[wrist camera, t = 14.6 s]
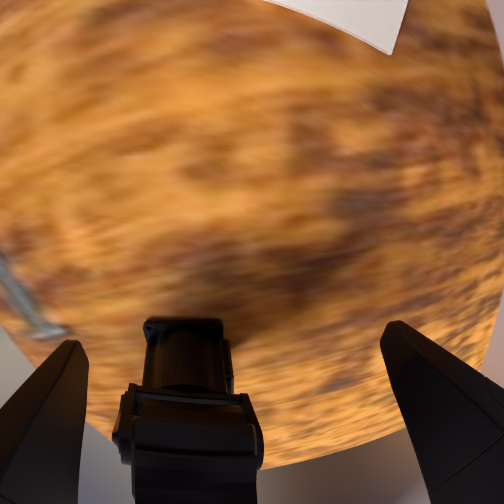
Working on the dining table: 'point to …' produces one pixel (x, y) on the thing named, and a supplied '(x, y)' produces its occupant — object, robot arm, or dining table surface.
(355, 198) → the dining table surface
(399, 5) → the letter tile
